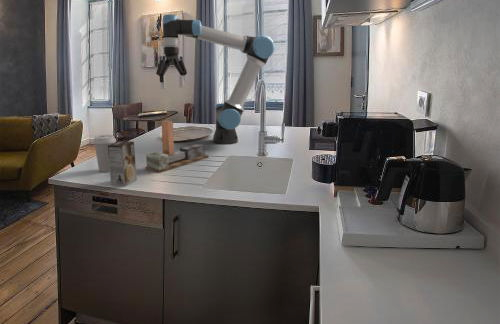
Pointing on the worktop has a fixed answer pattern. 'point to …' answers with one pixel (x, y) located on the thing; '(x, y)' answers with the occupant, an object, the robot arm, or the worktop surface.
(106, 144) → the coffee cup
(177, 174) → the worktop surface
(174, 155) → the orange and grey l-shape
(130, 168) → the coffee box
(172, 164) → the stand
